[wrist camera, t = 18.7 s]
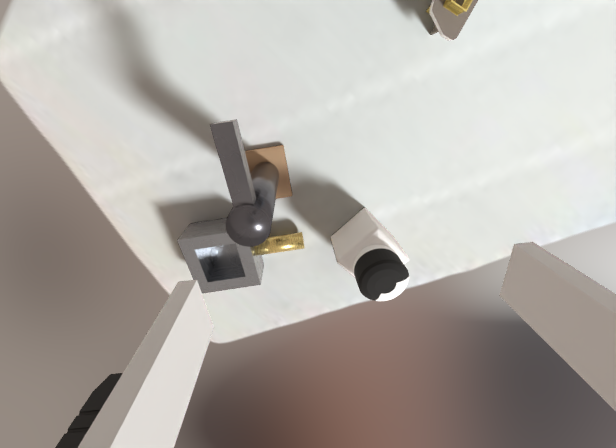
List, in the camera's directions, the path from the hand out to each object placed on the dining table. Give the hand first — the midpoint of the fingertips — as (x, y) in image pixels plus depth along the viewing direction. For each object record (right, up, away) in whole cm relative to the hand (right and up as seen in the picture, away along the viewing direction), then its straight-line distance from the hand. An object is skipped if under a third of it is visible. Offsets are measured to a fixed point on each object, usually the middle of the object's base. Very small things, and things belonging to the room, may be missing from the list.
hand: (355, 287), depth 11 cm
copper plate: (-8, +10, +25) cm, 28 cm away
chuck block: (-11, 0, +30) cm, 31 cm away
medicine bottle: (+6, +1, +30) cm, 31 cm away
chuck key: (-8, +12, +23) cm, 27 cm away
